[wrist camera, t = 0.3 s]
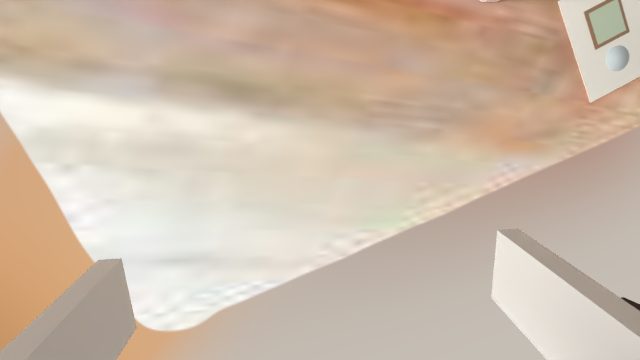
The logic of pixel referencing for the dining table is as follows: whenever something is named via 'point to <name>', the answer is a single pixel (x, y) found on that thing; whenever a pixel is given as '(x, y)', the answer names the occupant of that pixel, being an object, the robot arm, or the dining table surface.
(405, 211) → the dining table surface
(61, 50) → the dining table surface
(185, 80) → the dining table surface
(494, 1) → the white cup
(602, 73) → the page
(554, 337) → the robot arm
